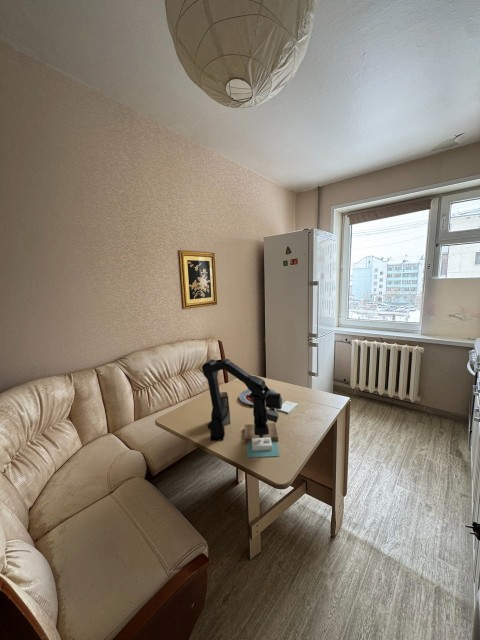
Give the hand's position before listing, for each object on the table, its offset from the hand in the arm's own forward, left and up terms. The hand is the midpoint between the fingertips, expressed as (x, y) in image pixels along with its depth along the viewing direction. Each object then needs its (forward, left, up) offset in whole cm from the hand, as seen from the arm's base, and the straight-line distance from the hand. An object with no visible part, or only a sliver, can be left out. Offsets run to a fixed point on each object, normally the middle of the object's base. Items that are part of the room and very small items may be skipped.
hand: (261, 437), depth 115 cm
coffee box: (-21, +21, -4) cm, 30 cm away
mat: (0, -4, -3) cm, 5 cm away
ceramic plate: (+1, +48, -4) cm, 48 cm away
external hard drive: (+18, +33, -4) cm, 38 cm away
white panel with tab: (0, -2, -3) cm, 3 cm away
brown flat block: (0, +7, -3) cm, 8 cm away
